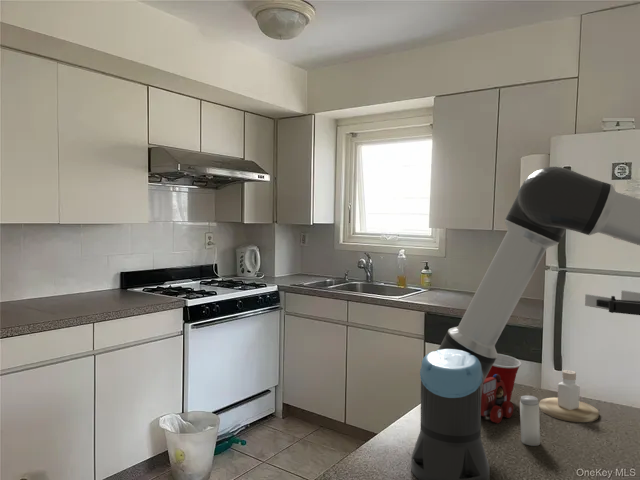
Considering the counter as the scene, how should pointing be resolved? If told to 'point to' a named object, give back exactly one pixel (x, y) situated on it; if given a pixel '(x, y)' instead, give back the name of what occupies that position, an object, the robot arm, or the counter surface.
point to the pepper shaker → (568, 391)
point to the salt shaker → (529, 420)
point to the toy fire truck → (495, 399)
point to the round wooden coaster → (569, 411)
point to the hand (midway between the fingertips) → (604, 297)
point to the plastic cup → (505, 371)
